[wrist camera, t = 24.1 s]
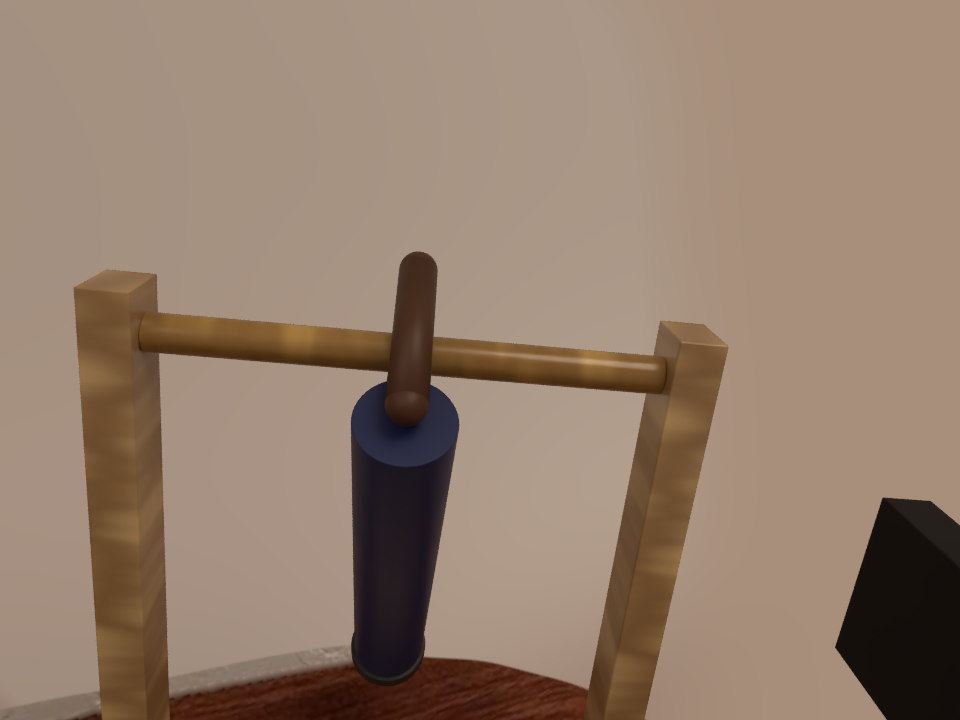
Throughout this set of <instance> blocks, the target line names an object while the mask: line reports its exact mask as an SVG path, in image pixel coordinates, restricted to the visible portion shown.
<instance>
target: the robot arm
mask: <svg viewBox="0 0 960 720" xmlns="http://www.w3.org/2000/svg"><path fill="white" fill-rule="evenodd" d="M835 648H836V649H837V651H838V652H839V653H840V655H841V656H842V658H843V659H844V660H845V662H846V663H847V665H848V666H849V668H850V669H851V670H852V672H853V673H854V675H855V676H856V677H857V679H858V680H859V681H860V683H861V684H862V686H863V687H864V688H865V690H866V691H867V693H868V694H869V695H870V697H871V698H872V700H873V701H874V702H875V704H876V705H877V706H878V708H879V709H880V711H881V712H882V714H883V715H884V716H885V718H886V719H887V720H960V525H959V524H957V523H956V522H955V521H954V520H953V519H952V518H950V517H949V516H948V515H947V514H945V513H944V512H943V511H942V510H941V509H939V508H938V507H937V506H936V505H935V504H933V503H932V502H931V501H922V500H909V499H894V498H883V499H882V502H881V505H880V508H879V511H878V514H877V518H876V520H875V523H874V527H873V530H872V533H871V536H870V539H869V542H868V546H867V549H866V552H865V555H864V559H863V561H862V565H861V568H860V571H859V574H858V577H857V580H856V583H855V586H854V590H853V593H852V596H851V599H850V603H849V606H848V609H847V612H846V615H845V618H844V621H843V624H842V628H841V631H840V634H839V637H838V640H837V643H836V646H835Z"/></svg>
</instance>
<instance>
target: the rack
mask: <svg viewBox="0 0 960 720" xmlns="http://www.w3.org/2000/svg"><path fill="white" fill-rule="evenodd" d="M74 299H75V315H76V331H77V345H78V361H79V377H80V390H81V391H80V392H81V406H82V422H83V437H84V453H85V468H86V483H87V498H88V512H89V513H88V514H89V527H90V528H89V529H90V544H91V559H92V574H93V589H94V605H95V619H96V636H97V651H98V666H99V681H100V697H101V712H102V720H170V717H169V683H168V650H167V617H166V615H167V614H166V581H165V548H164V512H163V480H162V479H163V478H162V443H161V409H160V377H159V376H160V375H159V353H164V354H176V355H188V356H200V357H212V358H224V359H225V358H226V359H237V360H249V361H260V362H272V363H284V364H297V365H310V366H321V367H333V368H345V369H357V370H369V371H381V372H388V368H389V358H390V349H391V340H392V333H386V332H375V331H363V330H352V329H340V328H329V327H317V326H306V325H295V324H282V323H271V322H260V321H249V320H236V319H226V318H214V317H203V316H191V315H180V314H169V313H158V309H157V275H156V274H149V273H138V272H126V271H116V270H105V271H103V272H101V273H99V274H98V275H96V276H94V277H92V278H90V279H89V280H87V281H85V282H83V283H81V284H80V285H78V286H76V287H74ZM727 351H728V345H727V344H725V343H724V342H723V341H722V340H721V339H720V338H719V337H717V336H716V335H715V334H714V333H713V332H712V331H710V329H708V328H707V327H706V326H705V325H703V324H693V323H682V322H671V321H660V325H659V330H658V335H657V340H656V346H655V351H654V356H649V355H638V354H626V353H615V352H604V351H592V350H581V349H569V348H557V347H546V346H535V345H524V344H512V343H501V342H489V341H478V340H465V339H455V338H443V337H433V351H432V367H431V376H441V377H453V378H466V379H477V380H490V381H502V382H514V383H526V384H539V385H550V386H562V387H575V388H587V389H599V390H610V391H623V392H635V393H646V397H645V402H644V408H643V412H642V418H641V423H640V428H639V433H638V438H637V443H636V448H635V454H634V459H633V464H632V469H631V475H630V480H629V485H628V490H627V495H626V500H625V505H624V510H623V516H622V521H621V526H620V531H619V536H618V542H617V547H616V552H615V557H614V562H613V567H612V572H611V578H610V583H609V588H608V593H607V598H606V604H605V609H604V614H603V619H602V625H601V629H600V635H599V640H598V645H597V650H596V655H595V660H594V666H593V671H592V676H591V681H590V686H589V691H588V696H587V702H586V707H585V712H584V717H583V720H644V718H645V713H646V709H647V704H648V700H649V696H650V691H651V687H652V682H653V678H654V674H655V669H656V665H657V660H658V656H659V652H660V647H661V642H662V638H663V634H664V629H665V625H666V621H667V616H668V612H669V607H670V602H671V598H672V594H673V590H674V585H675V581H676V577H677V572H678V568H679V563H680V559H681V554H682V550H683V546H684V541H685V537H686V532H687V528H688V524H689V519H690V514H691V510H692V506H693V501H694V497H695V493H696V488H697V484H698V479H699V475H700V471H701V466H702V462H703V457H704V453H705V448H706V444H707V440H708V435H709V431H710V426H711V422H712V417H713V413H714V409H715V404H716V400H717V396H718V391H719V387H720V382H721V378H722V373H723V369H724V365H725V360H726V356H727Z"/></svg>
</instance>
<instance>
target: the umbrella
mask: <svg viewBox="0 0 960 720" xmlns="http://www.w3.org/2000/svg"><path fill="white" fill-rule="evenodd" d="M436 287H437V265H436V263H435V261H434V259H433V258H432V257H431V256H430V255H428V254H426V253H424V252H412V253H410V254H408V255H407V256H406V257H405V258H404V259H403V260H402V262H401V264H400V268H399V277H398V286H397V296H396V304H395V314H394V322H393V331H392V340H391V349H390V358H389V368H388V377H387V381H386V382H383V383H381V384H378V385H376V386H374V387H373V388H371V389H369V390H368V391H367V392H366V393H365V394H364V395H362V397H361V398H360V399H359V400H358V402H357V403H356V405H355V407H354V409H353V413H352V417H351V452H352V455H351V456H352V512H353V513H352V515H353V572H354V633H353V637H352V642H351V652H352V659H353V663H354V665H355V667H356V669H357V671H358V672H359V674H360V675H361V676H362V677H363V678H365V679H366V680H367V681H369V682H371V683H373V684H376V685H380V686H393V685H397V684H400V683H402V682H405V681H406V680H408V679H409V678H410V677H412V676H413V675H414V674H415V672H416V671H417V670H418V668H419V667H420V665H421V662H422V660H423V656H424V650H425V636H424V631H425V625H426V619H427V613H428V607H429V602H430V596H431V590H432V584H433V578H434V572H435V566H436V560H437V554H438V549H439V543H440V537H441V531H442V525H443V519H444V514H445V508H446V502H447V495H448V490H449V484H450V478H451V472H452V466H453V461H454V455H455V449H456V443H457V437H458V431H459V418H458V414H457V411H456V408H455V407H454V405H453V404H452V402H451V401H450V399H449V398H448V397H447V396H446V395H445V394H444V393H443V392H442V391H440V390H439V389H437V388H436V387H434V386H432V385H430V382H431V367H432V351H433V334H434V319H435V303H436Z"/></svg>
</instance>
